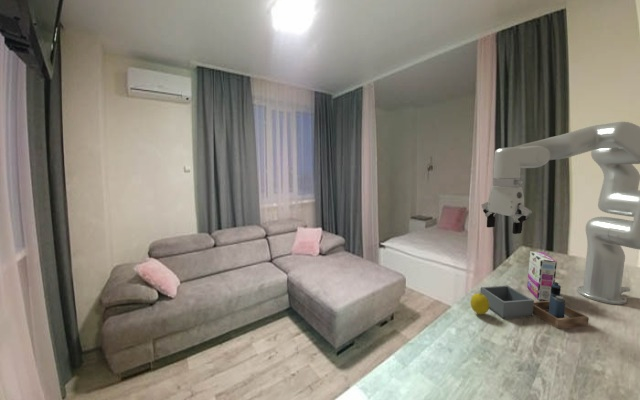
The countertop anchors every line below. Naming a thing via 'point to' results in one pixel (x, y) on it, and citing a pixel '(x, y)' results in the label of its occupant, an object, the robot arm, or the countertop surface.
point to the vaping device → (556, 302)
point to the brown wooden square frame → (573, 320)
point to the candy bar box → (541, 275)
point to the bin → (508, 302)
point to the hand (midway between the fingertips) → (503, 230)
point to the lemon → (479, 303)
